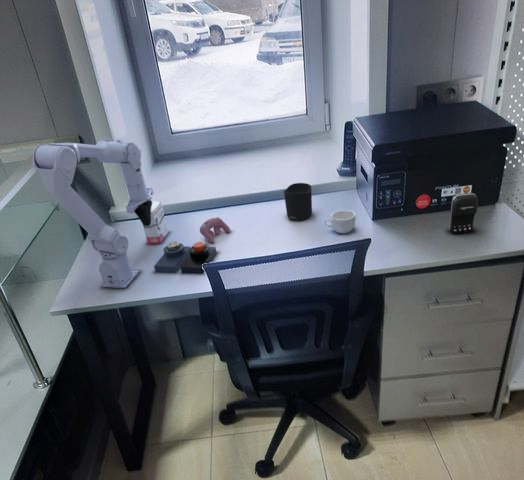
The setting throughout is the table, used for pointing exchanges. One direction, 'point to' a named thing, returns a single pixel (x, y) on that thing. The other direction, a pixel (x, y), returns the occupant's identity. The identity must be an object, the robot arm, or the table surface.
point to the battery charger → (463, 213)
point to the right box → (198, 260)
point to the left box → (172, 259)
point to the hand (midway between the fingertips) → (147, 224)
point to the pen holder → (298, 201)
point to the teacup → (342, 221)
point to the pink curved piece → (215, 224)
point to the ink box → (156, 224)
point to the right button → (198, 246)
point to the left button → (173, 246)
